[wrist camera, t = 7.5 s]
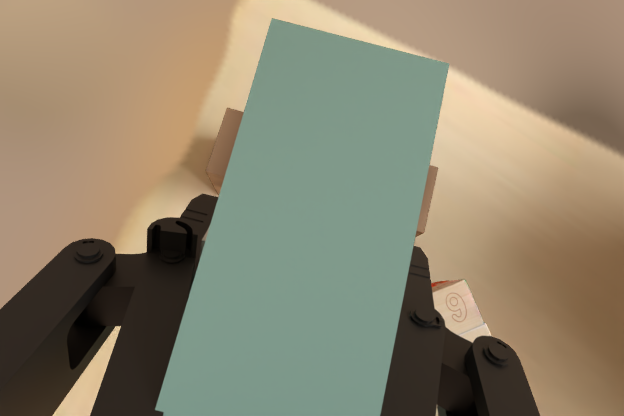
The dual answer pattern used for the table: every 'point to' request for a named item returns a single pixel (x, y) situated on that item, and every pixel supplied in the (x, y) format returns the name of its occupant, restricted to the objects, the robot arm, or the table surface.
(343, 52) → the rectangular block
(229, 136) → the staggered wooden block
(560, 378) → the table surface
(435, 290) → the stack of blocks
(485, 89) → the table surface
